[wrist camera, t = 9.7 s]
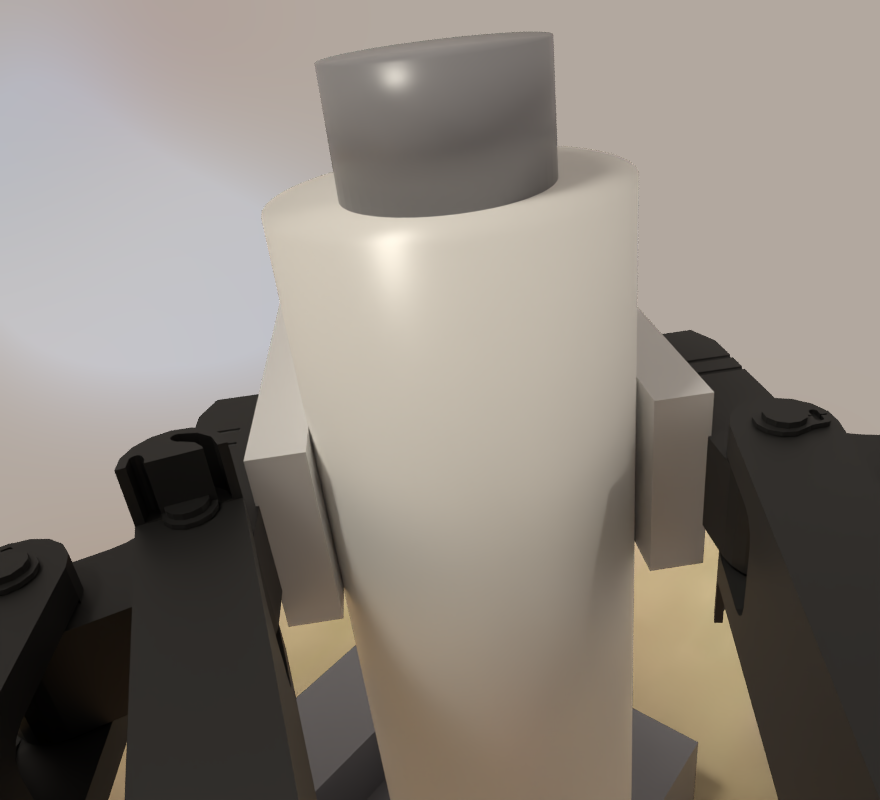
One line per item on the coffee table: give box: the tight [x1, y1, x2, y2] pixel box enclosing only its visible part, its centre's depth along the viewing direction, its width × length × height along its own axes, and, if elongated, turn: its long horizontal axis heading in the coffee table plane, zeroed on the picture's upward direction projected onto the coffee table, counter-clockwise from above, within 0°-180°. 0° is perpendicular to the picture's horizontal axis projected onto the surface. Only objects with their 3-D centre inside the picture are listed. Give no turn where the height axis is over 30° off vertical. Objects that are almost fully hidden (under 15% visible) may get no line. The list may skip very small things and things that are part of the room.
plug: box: [261, 32, 639, 800], centre depth 12 cm, size 4×4×14 cm
